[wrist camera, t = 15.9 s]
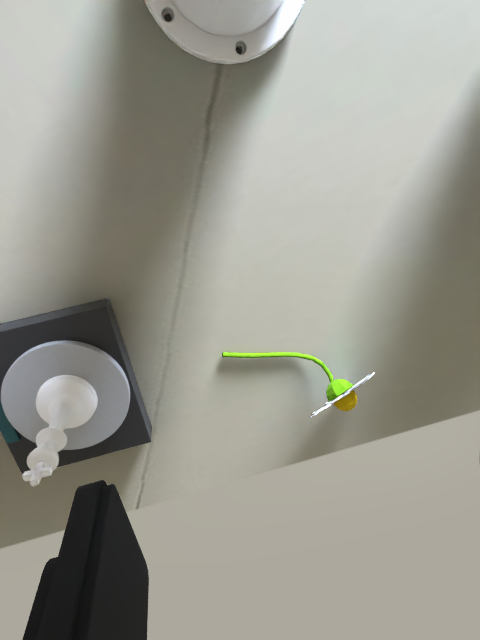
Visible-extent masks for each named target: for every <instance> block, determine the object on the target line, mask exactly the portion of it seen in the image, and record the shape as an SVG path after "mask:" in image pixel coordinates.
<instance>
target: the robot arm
mask: <svg viewBox="0 0 480 640" xmlns="http://www.w3.org/2000/svg"><path fill="white" fill-rule="evenodd" d="M144 1H145V3H146V6H147V7H148V9H149V11H150V12H151V14H152V16H153V17H154V19H155V21H156V23H157V24H158V25H159V26H160V27H161V29H162V30H163V31H164V32H165V33H166V35H167V36H168V37H169V38H170V39H171V40H172V41H174V42H175V43H176V44H177V45H178V46H180V47H181V48H182V49H183V50H185V51H187V52H188V53H190V54H192V55H194V56H196V57H197V58H200V59H203V60H206V61H209V62H213V63H221V64H235V63H243V62H246V61H249V60H252V59H255V58H257V57H260V56H261V55H263V54H264V53H266V52H267V51H269V50H270V49H272V48H273V47H274V46H275V45H276V44H277V43H278V42H279V41H280V40H281V39H282V38H283V37H284V36H285V35H286V34H287V32H288V31H289V30H290V29H291V28H292V26H293V24H294V23H295V21H296V19H297V17H298V16H299V14H300V12H301V10H302V7H303V5H304V2H305V0H144ZM166 15H169V16H170V17H171V21H169V22H167V21H166V20H165V19H164V17H165V16H166ZM237 47H239V48H241V50H242V53H241V54H238V53H237V52H236V48H237ZM148 585H149V578H148V569H147V565H146V561H145V559H144V556H143V554H142V551H141V549H140V546H139V544H138V542H137V539H136V536H135V534H134V531H133V529H132V526H131V524H130V521H129V519H128V516H127V514H126V511H125V509H124V506H123V504H122V501H121V499H120V496H119V494H118V491H117V489H116V487H115V485H114V484H111V485H107V484H106V482H105V481H104V480H101V481H97V482H94V483H90V484H86V485H83V486H79V487H78V488H77V490H76V492H75V496H74V500H73V503H72V507H71V511H70V515H69V518H68V522H67V526H66V529H65V533H64V537H63V541H62V544H61V548H60V552H59V555H58V557H56V558H52V559H50V560H49V561H48V562H47V563H46V565H45V567H44V570H43V573H42V576H41V580H40V583H39V586H38V590H37V593H36V596H35V600H34V603H33V606H32V610H31V613H30V616H29V620H28V623H27V627H26V630H25V634H24V637H23V640H147V615H148Z"/></svg>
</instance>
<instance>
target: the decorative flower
mask: <svg viewBox="0 0 480 640" xmlns="http://www.w3.org/2000/svg"><path fill="white" fill-rule="evenodd" d="M222 357H237V358H260V357H299V358H304V359H308V360H312V361H314V362H315V363H317V364H319V365H320V366H321V367H322V368H323V369H324V371H325V372H326V374H327V375H328V377H329V380H330V384H329V385H328V388H327V391H326V393H327V398H328V400H329V401H328V402H327V403H325V406H324V407H322V408H320V409H319V410H317V411H315V412H313V413H312V414H311V415H312V416H314V415H316V414H318V413H319V412H322V411H323V410H325V409H326V408H328V407H330V406H331V405H333V404H334V405H335V406H336V407H337V408H338V409H340V410H342V411H349V410H352V409H353V408H354V407H355V406H356V404H357V395H356V393H355V391H353V390H354V389H356V388H358V387H359V386H360V385H362V384H363V383H364V382H366V381H367V380H368V379H369V378H370V377H372V376H373V375H374V374H375V373H374V372H373V373H372V374H371V375H367V376H366V377H365V378H364V379H363V380H361V381H360V382H358V383H357V384H356V385H354V384H353V385H354V386H353V385H352V384H351V383H350V382H349V381H346V380H344V379H337V380H334V379H333V376H332V374H331V372H330V371H329V370H328V368H327V367H326V366H325V364H324V363H323V362H321V361H320V360H318V359H316V358H315V357H313V356H309V355H304V354H300V353H285V352H278V353H222ZM352 386H353V387H352ZM312 416H310V417H312ZM310 417H309V418H310Z"/></svg>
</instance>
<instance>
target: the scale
mask: <svg viewBox="0 0 480 640" xmlns="http://www.w3.org/2000/svg"><path fill="white" fill-rule="evenodd" d="M60 375H73V376H77V377H80V378H82V379H84V380H86V381H87V382H88V383H89V384H91V385H92V387H93V388H94V390H95V391H96V394H97V398H98V404H97V408H96V410H95V412H94V414H93V416H92V417H91V418H90V419H89V420H88V421H87V422H86V423H84V424H83V425H81V426H78V427H75V428H67V429H66V428H65V429H64V431H63V432H64V433H65V434H66V436H67V443H66V445H65V447H64V448H63V449H62V450H60V451H59V452H58V456H59V463H58V466H57V467H60V466H64V465H68V464H71V463H75V462H79V461H82V460H86V459H90V458H93V457H97V456H101V455H104V454H108V453H112V452H115V451H119V450H123V449H126V448H130V447H134V446H137V445H141V444H145V443H148V442H151V432H152V426H151V423H150V420H149V417H148V414H147V411H146V408H145V405H144V402H143V399H142V396H141V393H140V390H139V387H138V384H137V381H136V378H135V375H134V372H133V369H132V366H131V363H130V360H129V357H128V354H127V351H126V348H125V345H124V342H123V339H122V336H121V333H120V329H119V326H118V323H117V320H116V317H115V314H114V311H113V308H112V305H111V302H110V299H104V300H99V301H95V302H91V303H87V304H82V305H78V306H74V307H70V308H65V309H61V310H57V311H53V312H49V313H44V314H40V315H36V316H32V317H27V318H23V319H19V320H15V321H10V322H6V323H2V324H0V431H1V433H2V435H3V437H4V439H5V441H6V443H7V445H8V447H9V449H10V451H11V453H12V455H13V457H14V459H15V461H16V462H17V464H18V466H19V468H20V470H21V472H22V474H23V473H24V472H25V471H30V470H31V469H30V468H29V467H28V465H27V457H28V455H29V454H30V453H31V452H32V451H33V450H34V449H35V448H37V445H36V436H37V434H38V433H39V432H40V431H41V430H42V429H45V428H48V427H49V424H48V423H47V422H45V421H44V420H43V419H42V418H41V417H40V415H39V414H38V412H37V409H36V397H37V393H38V391H39V389H40V387H41V386H42V385H43V384H44V383H45V382H46V381H47V380H49V379H51V378H53V377H56V376H60ZM57 467H56V468H57Z"/></svg>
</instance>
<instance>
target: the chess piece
mask: <svg viewBox="0 0 480 640" xmlns="http://www.w3.org/2000/svg"><path fill="white" fill-rule="evenodd" d="M97 404H98V398H97V394H96V391H95V390H94V388H93V387H92V385H91V384H89V383H88V382H87V381H86V380H84V379H82V378H80V377H77V376H73V375H60V376H56V377H53V378H51V379H49V380H47V381H46V382H45V383H44V384H43V385H42V386H41V387H40V389H39V391H38V393H37V397H36V409H37V412H38V414H39V415H40V417H41V418H42V419H43V420H44V421H45V422H47V423H48V424H49V427H48V428H45V429H42V430H41V431H40V432H39V433H38V434H37V436H36V445H37V448H35V449H34V450H33V451H32V452H31V453H30V454H29V455H28V457H27V465H28V467H29V468H30V469H31V470H30V471H25V472H24V473H23V476H22V477H23V479H24V482H25V481H29V480H30V484H31V486H35V485H39V482H40V480H41V478H42V477H47V476H51V475H52V472H53V470H55V469H56V467H57V466H58V463H59V456H58V452H59V451H60V450H62V449H63V448H64V447H65V445H66V443H67V436H66V434H65V433H64V432H63V431H64V429H65V428H66V429H67V428H75V427H78V426H81V425H83V424H84V423H86V422H87V421H88V420H89V419H90V418H91V417H92V416H93V414H94V412H95V410H96V408H97Z"/></svg>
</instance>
